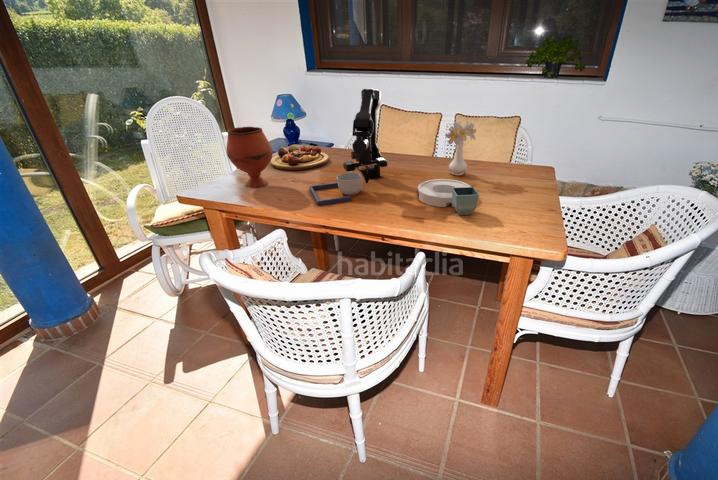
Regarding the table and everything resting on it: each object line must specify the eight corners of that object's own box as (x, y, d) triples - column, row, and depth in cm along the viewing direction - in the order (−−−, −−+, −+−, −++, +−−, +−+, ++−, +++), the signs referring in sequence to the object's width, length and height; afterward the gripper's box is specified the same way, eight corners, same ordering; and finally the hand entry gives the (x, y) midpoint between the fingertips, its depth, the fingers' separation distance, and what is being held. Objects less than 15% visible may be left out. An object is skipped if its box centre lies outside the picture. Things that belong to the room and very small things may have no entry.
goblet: (282, 186, 167) (272, 130, 153) (239, 194, 158) (224, 135, 145) (272, 175, 180) (262, 123, 167) (232, 181, 172) (218, 127, 159)
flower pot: (449, 208, 144) (451, 187, 139) (471, 207, 145) (473, 186, 140) (454, 217, 137) (456, 195, 132) (477, 216, 137) (479, 194, 132)
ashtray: (406, 197, 154) (406, 188, 152) (438, 184, 169) (438, 175, 167) (451, 211, 141) (452, 202, 139) (481, 195, 156) (482, 186, 154)
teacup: (358, 198, 154) (357, 180, 149) (334, 196, 156) (332, 178, 151) (367, 187, 165) (366, 170, 161) (345, 185, 167) (343, 168, 163)
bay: (339, 185, 167) (339, 182, 166) (350, 200, 152) (350, 196, 151) (309, 189, 163) (309, 185, 162) (317, 205, 147) (317, 201, 146)
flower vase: (440, 177, 176) (443, 124, 163) (450, 167, 190) (454, 117, 177) (465, 181, 172) (471, 126, 158) (474, 170, 186) (480, 119, 173)
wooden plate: (312, 173, 183) (310, 157, 179) (258, 168, 191) (255, 152, 186) (338, 156, 209) (337, 142, 204) (290, 153, 216) (288, 139, 212)
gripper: (378, 141, 162) (380, 175, 170) (338, 146, 156) (342, 180, 164) (387, 147, 153) (388, 182, 161) (345, 152, 147) (348, 188, 156)
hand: (366, 183), depth 161 cm, fingers closed
